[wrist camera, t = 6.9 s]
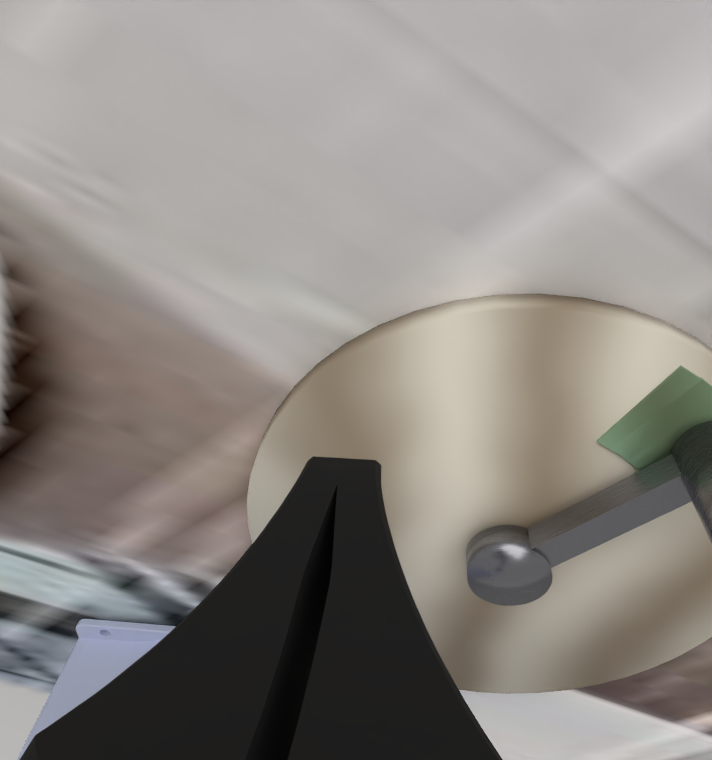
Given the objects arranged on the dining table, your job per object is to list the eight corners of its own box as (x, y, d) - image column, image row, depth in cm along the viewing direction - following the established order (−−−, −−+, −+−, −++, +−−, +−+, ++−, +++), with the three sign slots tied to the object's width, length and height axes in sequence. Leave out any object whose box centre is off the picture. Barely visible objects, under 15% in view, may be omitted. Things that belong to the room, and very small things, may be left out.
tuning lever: (498, 589, 26) (511, 729, 21) (449, 547, 25) (453, 685, 20) (771, 459, 21) (864, 603, 16) (725, 401, 20) (812, 536, 15)
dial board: (273, 654, 32) (268, 675, 31) (224, 282, 21) (214, 298, 20) (696, 690, 30) (704, 714, 29) (885, 305, 19) (908, 324, 18)
